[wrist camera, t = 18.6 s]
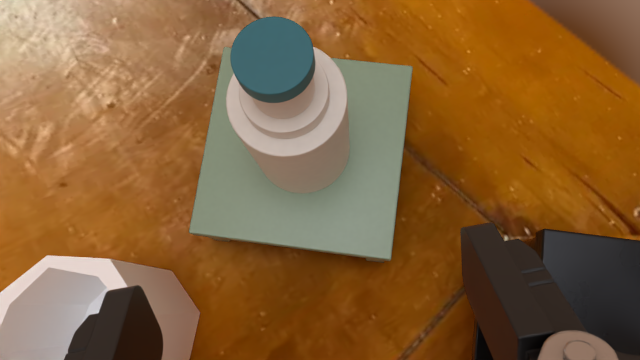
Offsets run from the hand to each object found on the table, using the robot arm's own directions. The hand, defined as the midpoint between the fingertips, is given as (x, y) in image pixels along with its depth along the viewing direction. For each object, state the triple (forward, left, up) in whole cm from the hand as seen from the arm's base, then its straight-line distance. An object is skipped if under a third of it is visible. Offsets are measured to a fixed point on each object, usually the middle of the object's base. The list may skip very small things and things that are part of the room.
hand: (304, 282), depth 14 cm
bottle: (+3, -8, -18) cm, 21 cm away
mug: (+11, +5, -24) cm, 26 cm away
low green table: (+3, -8, -23) cm, 25 cm away
